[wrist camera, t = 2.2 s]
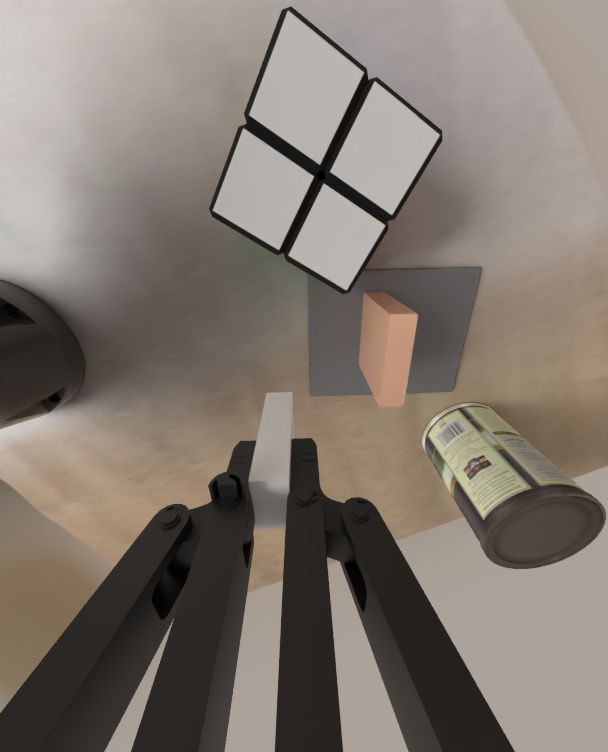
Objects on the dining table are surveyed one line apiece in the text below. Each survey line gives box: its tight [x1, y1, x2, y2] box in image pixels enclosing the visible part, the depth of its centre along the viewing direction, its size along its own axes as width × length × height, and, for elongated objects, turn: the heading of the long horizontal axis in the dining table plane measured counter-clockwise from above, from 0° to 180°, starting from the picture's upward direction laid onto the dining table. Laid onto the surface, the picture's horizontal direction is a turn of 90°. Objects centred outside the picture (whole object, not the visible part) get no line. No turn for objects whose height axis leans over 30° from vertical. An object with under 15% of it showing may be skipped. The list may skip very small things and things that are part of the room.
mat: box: [309, 267, 482, 396], centre depth 31 cm, size 17×14×1 cm
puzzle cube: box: [209, 7, 442, 294], centre depth 20 cm, size 10×10×10 cm
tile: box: [359, 291, 418, 408], centre depth 26 cm, size 2×8×9 cm, turn 1°
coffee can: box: [422, 403, 606, 569], centre depth 31 cm, size 10×10×14 cm
